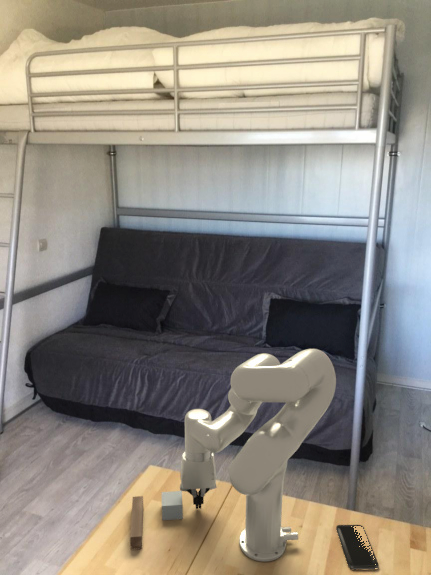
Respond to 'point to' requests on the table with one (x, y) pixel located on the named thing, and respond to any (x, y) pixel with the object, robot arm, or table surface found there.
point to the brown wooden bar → (136, 523)
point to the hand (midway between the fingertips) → (198, 505)
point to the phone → (355, 548)
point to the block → (172, 505)
